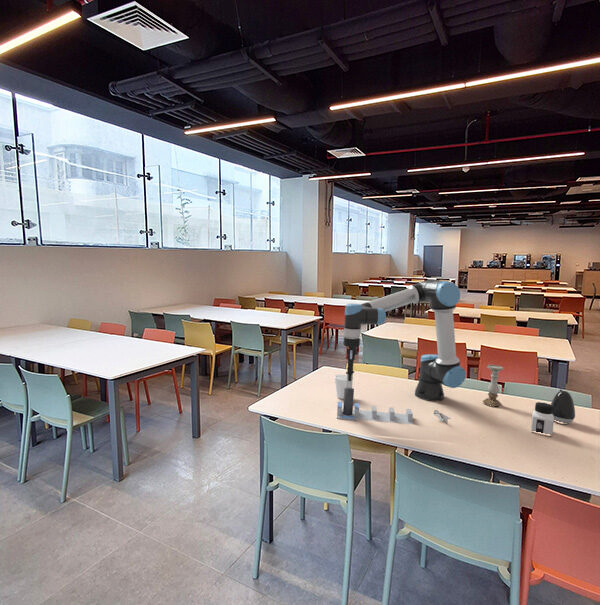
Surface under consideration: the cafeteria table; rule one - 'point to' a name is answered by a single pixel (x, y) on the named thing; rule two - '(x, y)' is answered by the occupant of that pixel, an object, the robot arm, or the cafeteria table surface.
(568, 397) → the black egg shaped speaker
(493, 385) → the candle holder
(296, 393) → the cafeteria table surface
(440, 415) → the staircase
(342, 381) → the cup
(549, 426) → the container
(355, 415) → the grey slotted rack
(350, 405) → the dark grey tall block
